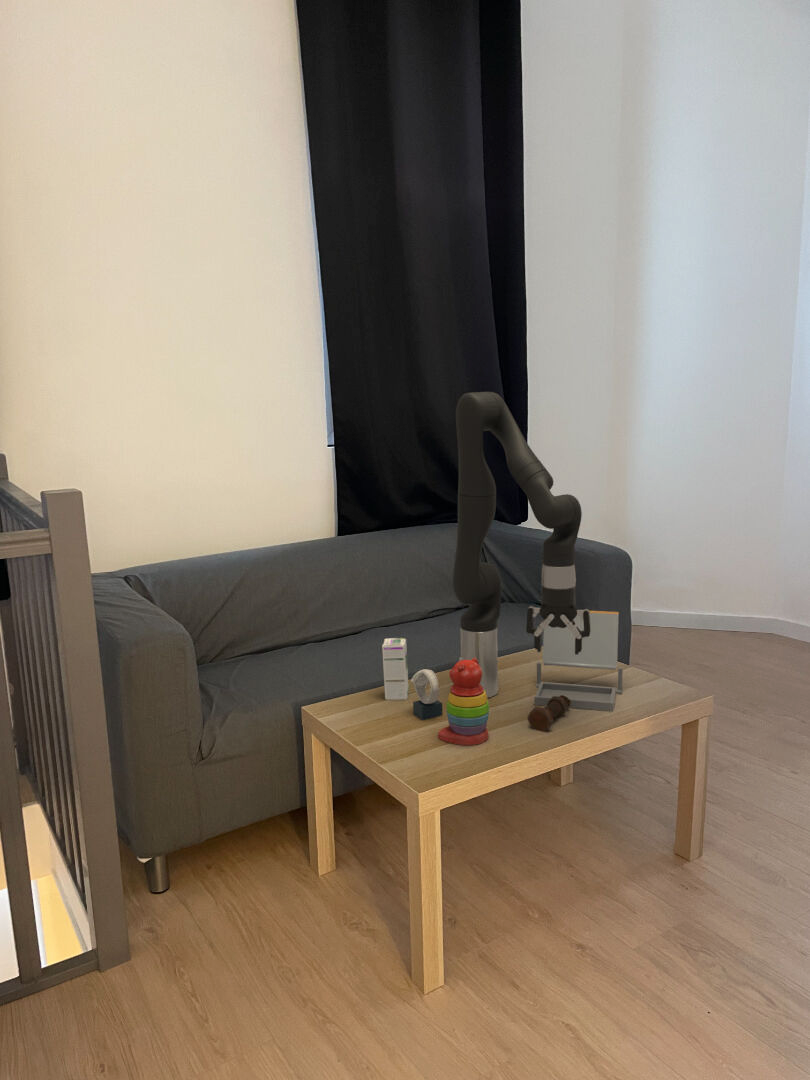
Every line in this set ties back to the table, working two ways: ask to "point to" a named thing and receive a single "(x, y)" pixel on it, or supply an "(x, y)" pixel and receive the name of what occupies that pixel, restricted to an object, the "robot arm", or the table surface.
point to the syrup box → (395, 669)
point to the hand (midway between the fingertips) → (558, 652)
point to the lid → (584, 643)
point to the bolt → (548, 713)
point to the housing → (578, 693)
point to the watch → (426, 705)
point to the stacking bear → (466, 706)
